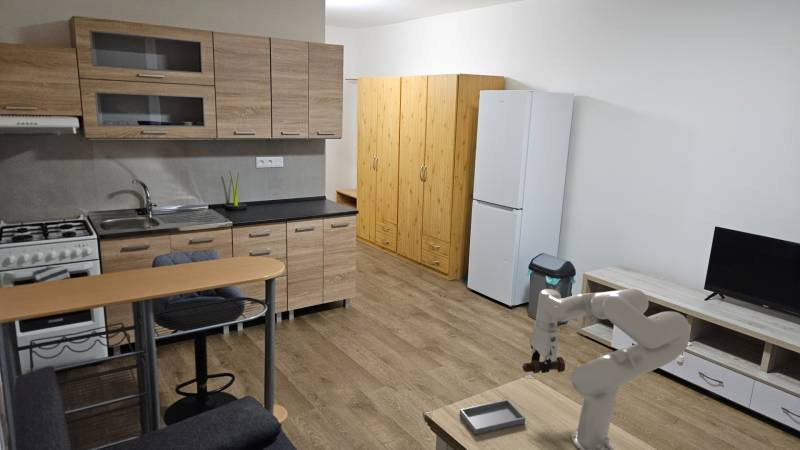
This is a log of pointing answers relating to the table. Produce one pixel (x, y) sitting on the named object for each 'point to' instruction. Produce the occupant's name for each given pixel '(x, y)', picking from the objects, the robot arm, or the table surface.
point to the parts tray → (492, 417)
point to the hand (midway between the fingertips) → (540, 367)
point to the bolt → (537, 366)
